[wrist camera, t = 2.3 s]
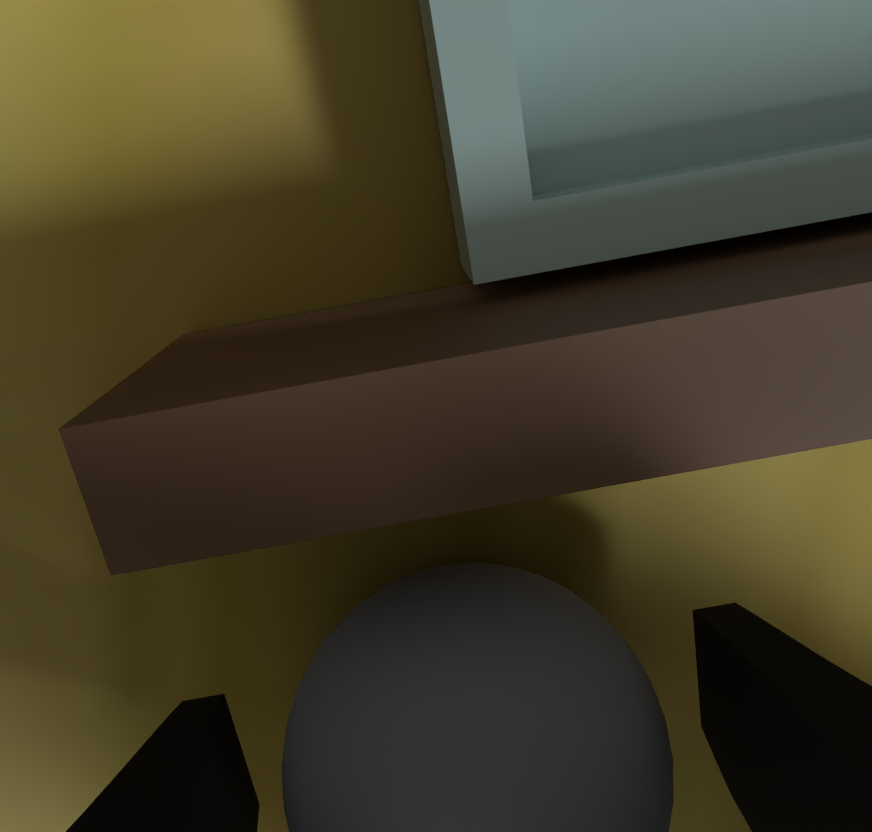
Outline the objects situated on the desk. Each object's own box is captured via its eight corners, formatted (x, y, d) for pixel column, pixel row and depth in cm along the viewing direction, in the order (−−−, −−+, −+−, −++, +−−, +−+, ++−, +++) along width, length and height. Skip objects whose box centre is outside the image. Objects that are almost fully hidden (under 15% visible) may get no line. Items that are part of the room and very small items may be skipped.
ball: (624, 737, 13) (755, 1063, 8) (342, 787, 13) (310, 1141, 8) (594, 476, 11) (735, 693, 7) (273, 534, 11) (185, 791, 7)
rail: (1161, 262, 11) (1575, 312, 7) (210, 434, 11) (110, 575, 7) (1176, 154, 10) (1630, 143, 7) (182, 335, 10) (59, 429, 7)
